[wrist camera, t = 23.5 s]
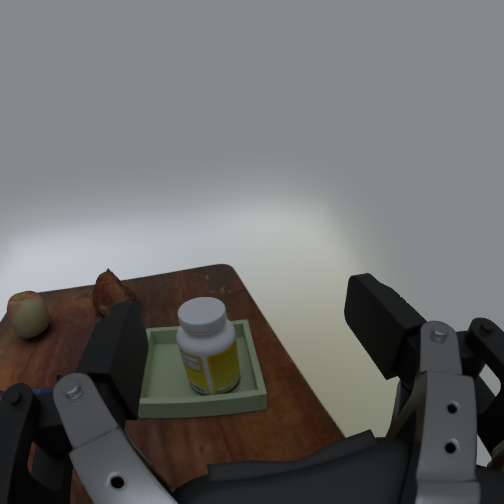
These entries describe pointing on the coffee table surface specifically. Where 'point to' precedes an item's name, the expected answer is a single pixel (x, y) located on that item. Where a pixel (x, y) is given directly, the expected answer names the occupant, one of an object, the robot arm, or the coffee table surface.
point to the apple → (28, 314)
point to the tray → (177, 385)
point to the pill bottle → (208, 347)
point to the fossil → (110, 293)
